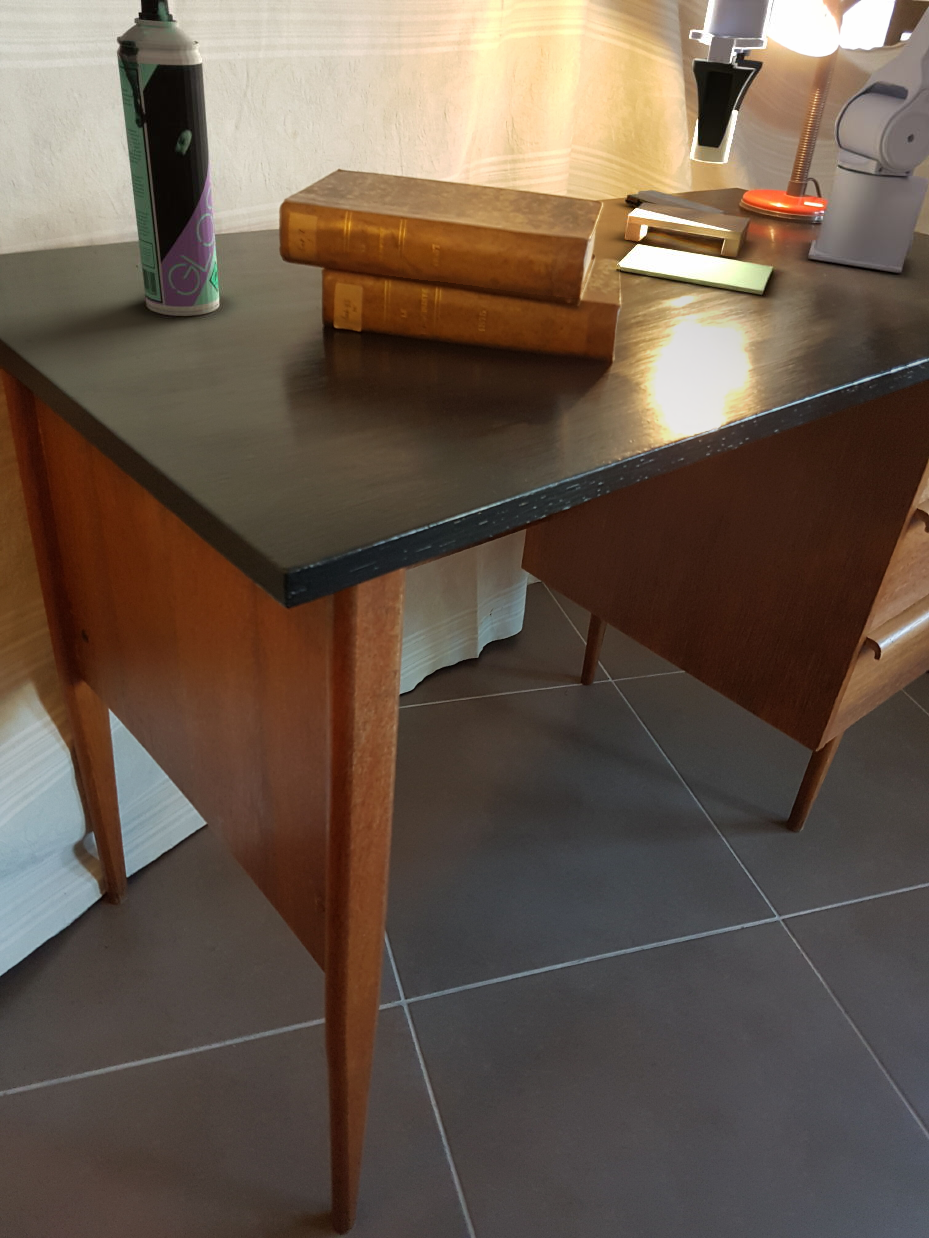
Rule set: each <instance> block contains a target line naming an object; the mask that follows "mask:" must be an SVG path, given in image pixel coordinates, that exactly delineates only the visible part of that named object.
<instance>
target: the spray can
mask: <svg viewBox="0 0 929 1238" xmlns="http://www.w3.org/2000/svg"><path fill="white" fill-rule="evenodd" d="M140 10H141V11H138V13H137V14H138V17H135V18H134V19H133V21H134V25H132V26H131V27H130V28H128V29H127V30H126V31H125V32H124V33H123V34H122V35H120V36H117V37H116V42H117V45H119V46H118V48H117V50H116V58H117V67H118V73H119V74H118V75H119V82H120V90H121V91H120V93H121V100H122V108H123V117H124V127H125V134H126V143H127V150H128V151H127V152H128V158H129V159H128V160H129V169H130V177H131V185H132V186H131V187H132V195H133V202H134V209H135V210H134V211H135V219H136V229H137V238H138V245H139V255H140V264H141V273H142V279H143V281H142V282H143V288H144V289H143V290H144V296H145V297H144V298H145V302H146V303H145V304H146V307H147V309H148V310H150V311H152V312H155V313H156V314H161V315H167V316H175V317H177V316H178V317H190V316H191V317H192V316H200V315H206V314H209V313H212V312H214V311H216V310H217V309H219V308H220V290H219V274H218V263H217V262H218V261H217V249H216V236H215V234H216V233H215V222H214V208H213V194H212V180H211V179H212V178H211V166H210V152H209V140H208V139H209V137H208V124H207V123H208V122H207V110H206V109H207V108H206V97H205V84H204V69H203V56H202V55H201V54H200V52H199V48H200V42H199V41H197V40H194V39H193V38H192V37H191V36H190V35H189V34H188V33H186V32H185V31H184V30H183V29H182V28H180V27H179V26H180V24H179V23H180V22H179V20H175V19H174V16H173V14H172V13H170V7H169V0H140Z"/></svg>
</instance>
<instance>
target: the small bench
mask: <svg viewBox="0 0 929 1238" xmlns="http://www.w3.org/2000/svg"><path fill="white" fill-rule="evenodd" d="M750 223H751V218H749V217H743V216H737V215H730V214H729V215H728V214H725V213H723V214H718V213H711V212H705V211H698V210H692V209H685V208H678V207H672V206H665V205H659V204H652V203H646V202H644V203H642V204H641V205H640V206H639V207H638V208H636V207H635V209H634V210H633V211H632V212H630V213H629V214H628V216H627V223H626V228H625V235H624V240H627V241H631V242H632V241H633V242H640V241H641V240H642V239H643V238H644V237H645V236H647V234H648V233H650V232H651V230H652V229H653V228H657V229H658V228H659V229H665V230H671V231H677V232H683V233H689V234H690V233H691V234H696V235H702V236H709V237H715V238H720V239H724V240H723V244H722V248H721V253H720V255H721V256H724V257H730V258H737V257H738V255H739V253H740V252H741V250H742V249H743V247H744V244H745V243H746V240H747V236H748V231H749V227H750Z"/></svg>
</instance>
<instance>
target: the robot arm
mask: <svg viewBox="0 0 929 1238" xmlns="http://www.w3.org/2000/svg"><path fill="white" fill-rule="evenodd" d="M774 3H775V0H708V6H707V11H706V15H705V16H706V17H705V21H704V27H703V30H698V29H697V30H696V29H692V30H690V32H689V37H688V38H689V39H690V40H696V41H699V43H703V44H705V45H708V46H709V49H708V53H707V54H708V55H707V58H693V60H692V64H691V67H692V68H691V69H692V73H693V77H694V80H695V85H696V95H697V120H698V125H697V124H696V126H697V139H698V146H705V147H712V148H719V147H720V146H721V144H722V142H723V139H724V137H725V134H726V132H727V129H728V126H729V123H730V120H731V117H732V114H733V111H737V115H738V114H739V111H740V108H741V106H742V103H743V101H744V99H745V97H746V95H747V93H748V91H749V89H750V87H751V85H752V83H753V82H754V80H755V78H756V77H757V76H758V74H759V73H760V71H761V70H762V68H763V64H764V62H763V61H761V60H753V59H745V57H750V56H751V52H752V50H753V49H754V50H756V49H760V50H762V49H766V47H767V44H768V37H767V33H768V28H769V26H770V25H769V24H770V20H771V15H772V11H773V6H774ZM833 139H834V142H835V145H836V147H837V149H838V150H839V151H838V155H837V159H836V161H837V165H836V168H835V172H834V175H833V179H832V183H831V186H830V190H829V194H828V196H827V201H826V205H825V208H824V211H823V215H822V218H821V223H820V226H819V230H818V234H817V237H816V239H813V240H812V241H811V245H810V249H809V252H808V255H807V258H808V259H810V260H815V261H821V262H826V263H827V262H829V263H832V264H833V263H835V264H841V265H846V266H852V267H857V268H859V267H860V268H864V269H871V270H878V271H884V272H890V273H895V274H896V273H897V274H901V273H902V271H903V266H904V263H905V260H906V257H907V255H908V254H909V253H910V251H911V248H912V245H913V241H914V238H915V237H914V233H915V231H916V227H917V224H918V221H919V218H920V216H921V215H920V214H921V211H922V208H923V205H924V202H925V198H926V195H927V191H928V187H929V178H928V177H925V176H920V175H914V173H915V170H916V168H917V167H919V166H920V165H921V164H922V163H924V162H925V161H926V160H927V158H929V6H928V7H927V9H926V10H925V11H924V13H923V15H922V16H921V17H920V20H919V21H918V23H917V24H916V26H915V28H914V29H913V31H911V34H910V35H909V37H908V39H907V40H906V41H905V44H904V45H903V47H902V49H901V50H900V52H899V53H898V54H897V55H896V56H894V57H893V58H892V59H891V60H888V61H887V62H886V63H885V64H883V65H881V66H880V67H879V68H878V69H876V70H874V71H873V72H872V73H871V75H870V76H869V78H868V79H867V81H866V83H865V84H864V85H863V87H861V89H860V90H859V91H858V92H856V93H855V94H853V95H852V96H851V97H850V98H849V99H847V100H846V102H845V103H844V104H843V106H842V107H841V109H840V110H839V112H838V114H837V116H836V119H835V122H834V127H833Z"/></svg>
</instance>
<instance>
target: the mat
mask: <svg viewBox="0 0 929 1238" xmlns="http://www.w3.org/2000/svg"><path fill="white" fill-rule="evenodd" d="M618 264H619V265H620V270H621V271H620V270H619V271H620V272H625V273H626V272H627V273H632V274H633V273H634V274H638V275H645V276H648V277H649V276H650V277H656V278H661V279H668V280H673V281H679V282H685V283H690V284H695V285H696V284H697V285H702V286H706V287H707V286H709V287H714V288H720V289H725V290H732V291H737V292H742V293H749V294H755V295H760V296H762V295H763V293H764V291H765V288H766V286H767V284H768V281H769V279H770V277H771V274H772V272H773V268H774V266H773V265H772V266H771V265H765V264H759V263H754V262H747V261H741V260H736V259H728V258H723V257H717V256H711V255H704V254H698V253H692V252H687V251H682V250H681V251H680V250H674V249H668V248H662V247H655V246H650V245H643V244H637V245H635V247H634V248H632V250H631V251H630V252H628V253H627V254H626V256H625V257H623V259H621V261H619V262H618Z"/></svg>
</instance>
